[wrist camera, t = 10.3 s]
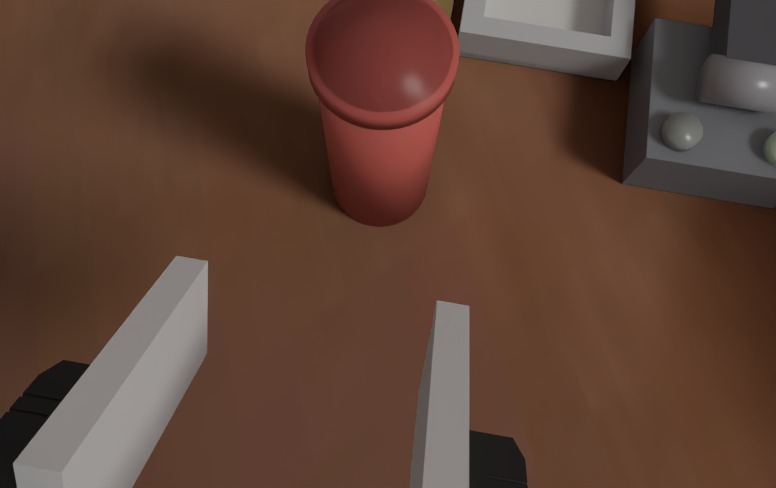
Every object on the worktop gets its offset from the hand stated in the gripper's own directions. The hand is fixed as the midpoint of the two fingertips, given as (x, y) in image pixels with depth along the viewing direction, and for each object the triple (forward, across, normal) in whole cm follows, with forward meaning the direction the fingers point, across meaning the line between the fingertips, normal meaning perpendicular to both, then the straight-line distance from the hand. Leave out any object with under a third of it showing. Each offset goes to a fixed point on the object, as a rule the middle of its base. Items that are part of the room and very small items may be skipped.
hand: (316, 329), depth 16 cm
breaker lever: (+16, +15, +3) cm, 22 cm away
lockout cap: (+16, 0, -3) cm, 16 cm away
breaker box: (+20, +15, +1) cm, 25 cm away
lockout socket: (+24, +5, +5) cm, 25 cm away
